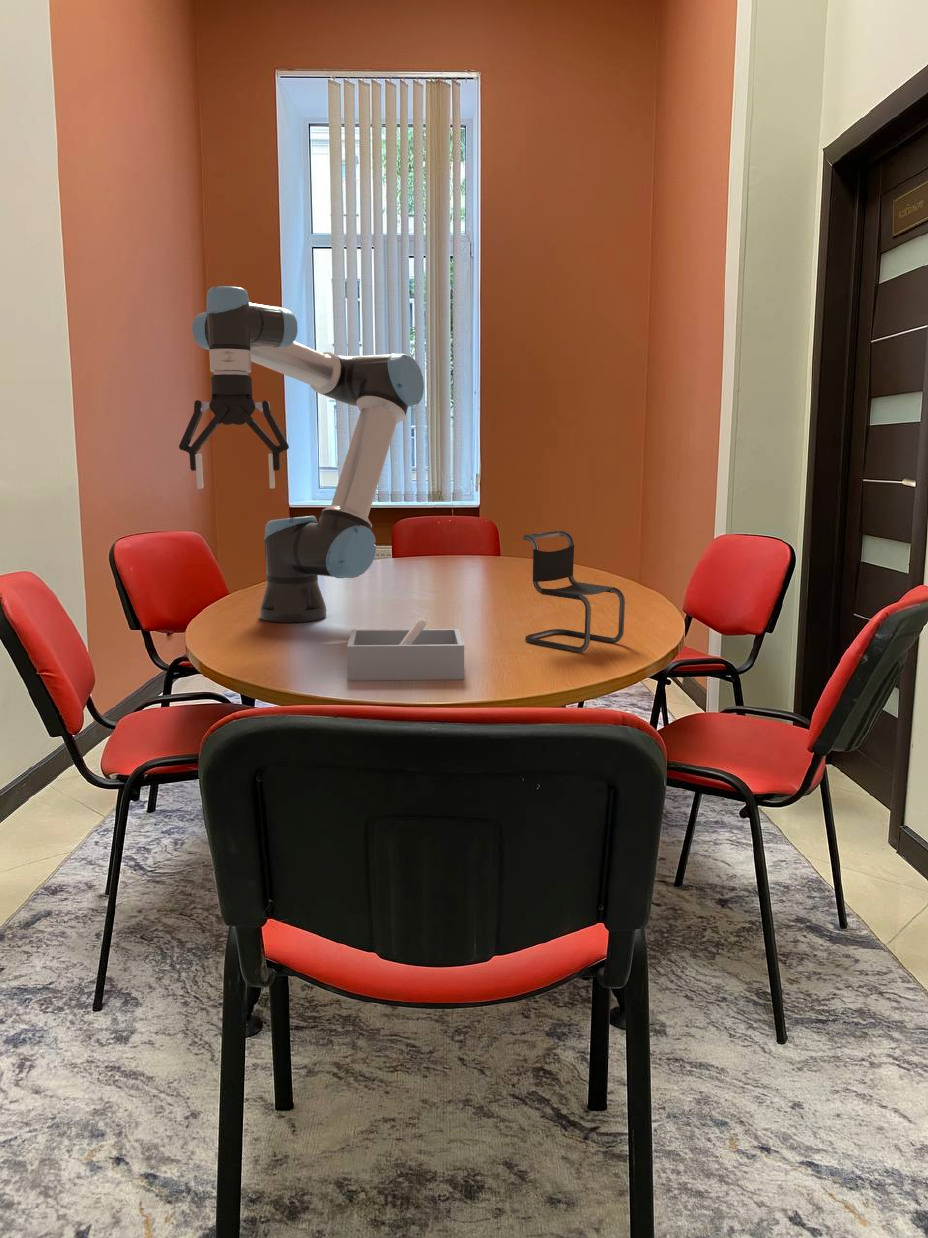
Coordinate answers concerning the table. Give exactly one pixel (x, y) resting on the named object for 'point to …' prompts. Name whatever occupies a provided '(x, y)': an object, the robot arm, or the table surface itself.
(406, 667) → the well
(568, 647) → the chair
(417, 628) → the white ring with handle
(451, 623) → the table surface
